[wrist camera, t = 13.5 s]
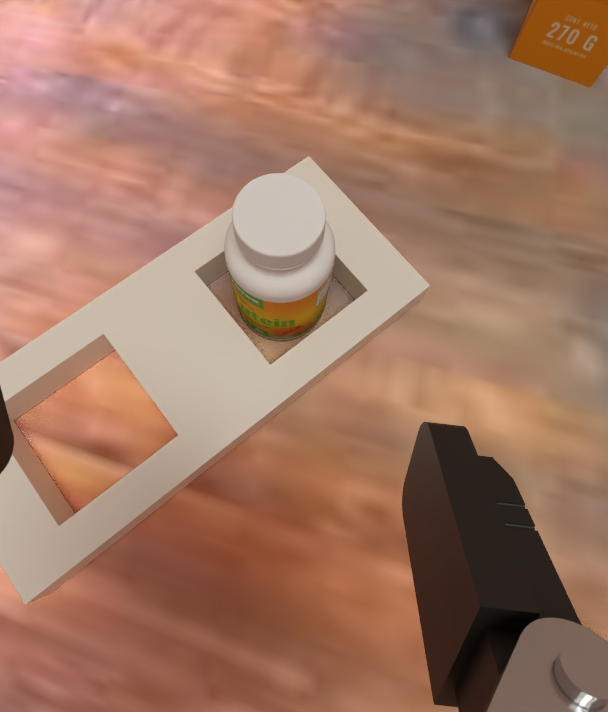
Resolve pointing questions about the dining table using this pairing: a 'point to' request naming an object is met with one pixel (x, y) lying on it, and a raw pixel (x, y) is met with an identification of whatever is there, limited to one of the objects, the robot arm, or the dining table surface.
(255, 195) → the supplement bottle
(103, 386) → the dining table surface
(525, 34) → the cereal box
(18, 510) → the socket rail
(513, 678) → the robot arm
